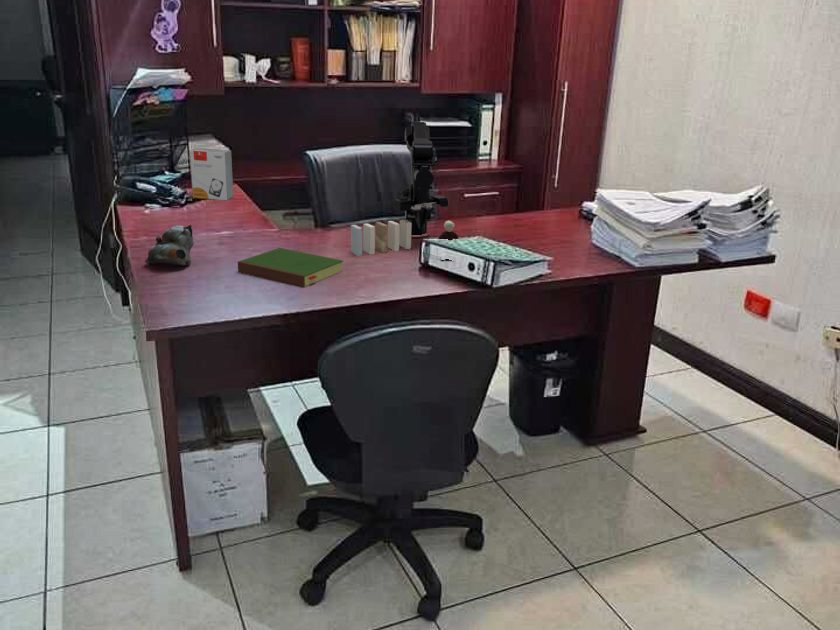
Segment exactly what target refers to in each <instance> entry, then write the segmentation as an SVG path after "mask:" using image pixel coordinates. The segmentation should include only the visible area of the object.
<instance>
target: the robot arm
mask: <svg viewBox="0 0 840 630" xmlns="http://www.w3.org/2000/svg"><path fill="white" fill-rule="evenodd" d="M404 142H406V149H407V150H408V151H409V153H410V166H411V167H410V168H411V183H410V185H409V188H407V187H406V186H401V187H399V190H398V191H399V192H398V195H399V197H400V198H397V199H394V200H393V202H392V209H395V210H396V211H399V212H404V218H405V220H406V221H409V222H411V223H412V225H411V235H422V234H425V233H427V230H428V221H430V220H431V219H432V211H435V208H434V207H433V206H434V205H439V207H441V208H445V207H449V206H450V200H449V198H448V197H446V196H443V195H440V194H439V195H431V190H433V185H432V184H433V183H434V179H435V178H434V174H433V173H432V170H431V169H432V168H431V167H436V164H437V161H438V158H437V149H436V147H435V146H433V142H432V141H431V140H430V127H429V126H428V125H427V122H425V121H412V122H411V124H409V125H408V126H406V127H405V130H404ZM427 234H428V233H427Z"/></svg>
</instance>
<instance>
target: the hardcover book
mask: <svg viewBox="0 0 840 630" xmlns="http://www.w3.org/2000/svg"><path fill="white" fill-rule="evenodd" d="M343 262H344V260H341V259H337V258H334V257H327V256H323V255H316V254H313V253H307V252H302V251H298V250H293V249H292V250H291V249H289V248H288V249H287V248H281V247H278V248H275V249H272V250H269V251H266V252H263V253H260V254H257V255H254V256H251V257H248V258H245V259H242V260H239V261H237V272H238V273H239V272H241V273H240V274H243V273H245V274H244V275H247V274H249V275H248V276H252V275H253V277H256V278H260V277H261V279H266V280H269V281H273V282H279V283H283V284H286V285H291V286H296V287H300V288H306V287H307V286H310V285H312V284H315V283H317V282H319V281H322V280H324V279H326V278H328V277H331V276H334V275H336V274H338V273H341V272H342V271H343Z"/></svg>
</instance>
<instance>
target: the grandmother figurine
mask: <svg viewBox="0 0 840 630" xmlns="http://www.w3.org/2000/svg"><path fill="white" fill-rule="evenodd" d="M443 228H444V230H445V231H443V232H442V233H441V234H440V235H439V237H438V238H437V240H438V239H448V240H453V241H454V240H456V239H459V240H460V238H459V237H460V236H459V235H458V234H457V233H456V232H454V231H453V229H454V228H455V223H454V222H453V221H451V220H446V221H445V222H444V224H443Z"/></svg>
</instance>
